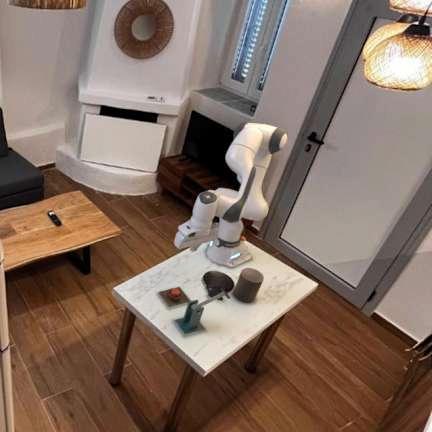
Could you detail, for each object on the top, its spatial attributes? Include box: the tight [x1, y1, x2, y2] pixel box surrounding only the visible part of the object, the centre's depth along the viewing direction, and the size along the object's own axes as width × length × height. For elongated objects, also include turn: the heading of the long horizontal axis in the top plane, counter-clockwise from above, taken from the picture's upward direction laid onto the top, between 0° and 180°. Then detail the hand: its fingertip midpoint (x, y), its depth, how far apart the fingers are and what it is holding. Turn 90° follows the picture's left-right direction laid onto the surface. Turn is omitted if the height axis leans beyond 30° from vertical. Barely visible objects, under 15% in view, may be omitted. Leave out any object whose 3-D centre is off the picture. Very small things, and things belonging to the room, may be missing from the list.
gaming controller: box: [206, 283, 224, 302], centre depth 189 cm, size 10×5×6 cm
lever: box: [191, 287, 231, 311], centre depth 167 cm, size 16×6×2 cm, turn 105°
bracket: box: [174, 299, 206, 335], centre depth 170 cm, size 10×8×14 cm
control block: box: [158, 286, 191, 307], centre depth 186 cm, size 11×9×4 cm
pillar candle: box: [232, 267, 265, 304], centre depth 184 cm, size 10×10×15 cm
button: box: [171, 288, 180, 297], centre depth 185 cm, size 4×4×2 cm
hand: (193, 250), depth 180 cm, fingers closed
